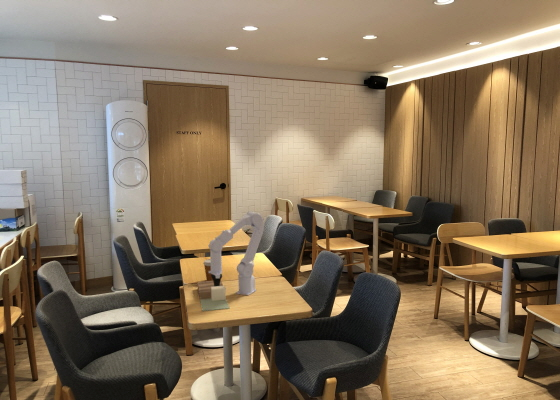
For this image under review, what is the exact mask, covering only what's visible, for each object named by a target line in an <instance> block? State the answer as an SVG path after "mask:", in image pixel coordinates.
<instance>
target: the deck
mask: <svg viewBox="0 0 560 400" xmlns="http://www.w3.org/2000/svg"><path fill="white" fill-rule="evenodd" d="M220 286H224V285H223V282H222V280H221V281H220ZM211 287H214V282H213V281H207V280H206V281H205V280H204V281H197V292H198V297H199V300H200V299H210V298H211Z"/></svg>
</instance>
